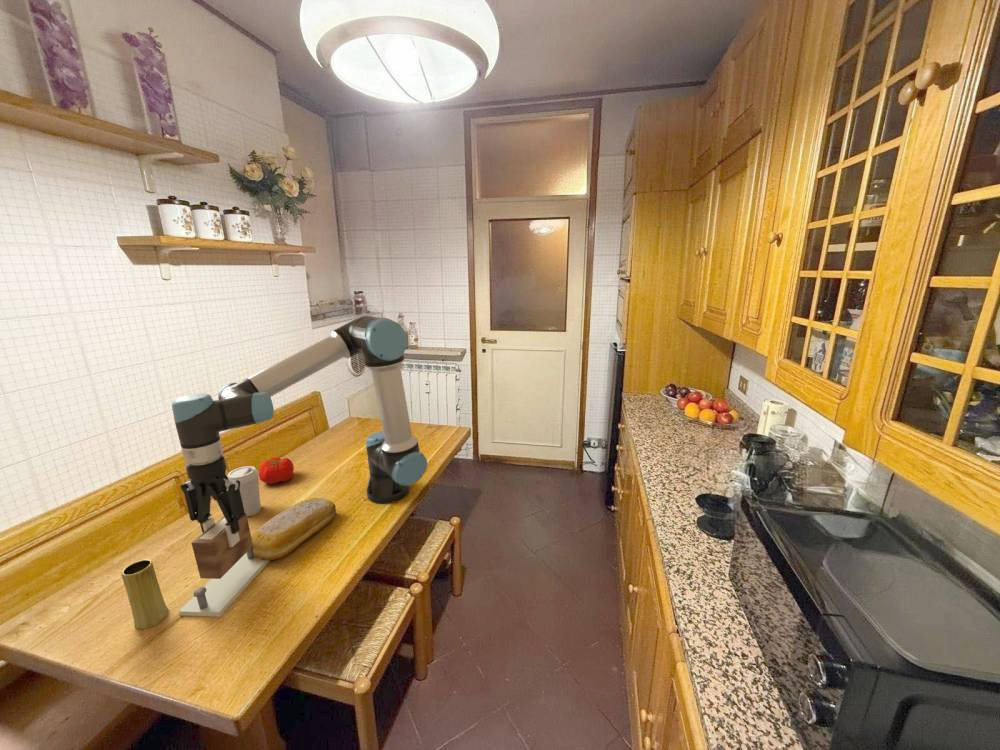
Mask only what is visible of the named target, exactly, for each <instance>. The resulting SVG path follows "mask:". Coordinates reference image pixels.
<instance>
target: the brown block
mask: <svg viewBox="0 0 1000 750" xmlns="http://www.w3.org/2000/svg"><path fill="white" fill-rule="evenodd" d="M225 523H227V521H226V519H225V517H224V516H223V517H221V518H220V519H219V520H217V521H216V522H215V524H214V525H213V526H211V527H210V528H209V529H208V530H206V531H205V532H204V533H203V532H202V534H200V535H199V536H197V537H196V538H195V539H194V540H193V541H192V542H191V546H192V551H193V554H194V558H195V563H196V566H197V571H198V573H199V577H200V579H210V580H211V579H221V578H222V577H223V576H224V575H225V574H226V573H227V572H228V571H229V570H230V569H231V568H232V567H233V565H234V564H235V563H236V562H237V561H238V560H239V559H240V558H241V557H242V556H243V555H244V554H247V553H246V552H247V551H248V550H249V549H250V548H251V547H252V546H253V543H252V538H251V536H252V535H251V530H250V524H249V519H248V517H247V514H246V513H245V515H244V516H243V517H242V518H241V519H240V520H238V523H239V528H240V530H239V531H238V534H239V538H240V541H239V542H238V543H236V544H235V545H234V546H233V547H229V542H228V538H227V534H226V529H225V525H224V524H225Z"/></svg>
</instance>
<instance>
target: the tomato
mask: <svg viewBox="0 0 1000 750" xmlns="http://www.w3.org/2000/svg"><path fill="white" fill-rule="evenodd" d="M294 469H295V466H294V463H293V462H292V460H291V459H290V458H288V457H282V458H280V457H277V456H275V457H270V458H269V459H267V460H264V461H263V462H262V464H260V467H259V470H258V471H259V476H258V479H260V481H261V482H263V483H264V484H270V485H271V484H272V485H274V484H278V483H279V482H287V481H289V480H290V479H292V477H293V476H294Z"/></svg>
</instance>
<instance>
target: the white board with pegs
mask: <svg viewBox="0 0 1000 750" xmlns="http://www.w3.org/2000/svg"><path fill="white" fill-rule="evenodd" d="M252 549H253V548H252V547H251V548H250V549H249V550H248V551H247V552H246V553H245V554H244V555H243V556H242V557H241V558H240V559H239V560H238V561H237V562H236V563H235V564H234V565H233V567H232V568H231V569H230V570H229V571H228V572H227V573H226V574H225V575H224V576H223V577H222V578H221V579H210V580H209V581H208V582H207V583H206V584H205V585H204V586H202V587H200V588H197V589H196V590H194V591H193V593H192V594H193V597H192V598H191V599H190V600H189V601H188V602H187V603H186V604H185V605H184V606H183V607H182V608H180V609H179V610H178V613H179V616H183V617H184V616H185V617H187V616H188V617H213V618H214V617H216V618H218V617H219V618H220V617H221V616H222V615H223V614H224V613H225V612H226V611H227V610H228V608H230V606H232V604H233V603H234V601H235V600H237V598H238V597H239V596H240V595H241V593H242V592H244V591H245V589H246V588H247V587H248V586H249V585H250V583H252V581H254V579H255V578H256V577H257V576H258V575H259V573H260V572H261V571H262V570H263V569H264V568H265V567H266V566H267V565H268V563H269V562H270V561H271V560H265V559H264V560H262V559H260V558H258V557H257V556H255V555H254V554H253V551H252Z"/></svg>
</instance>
